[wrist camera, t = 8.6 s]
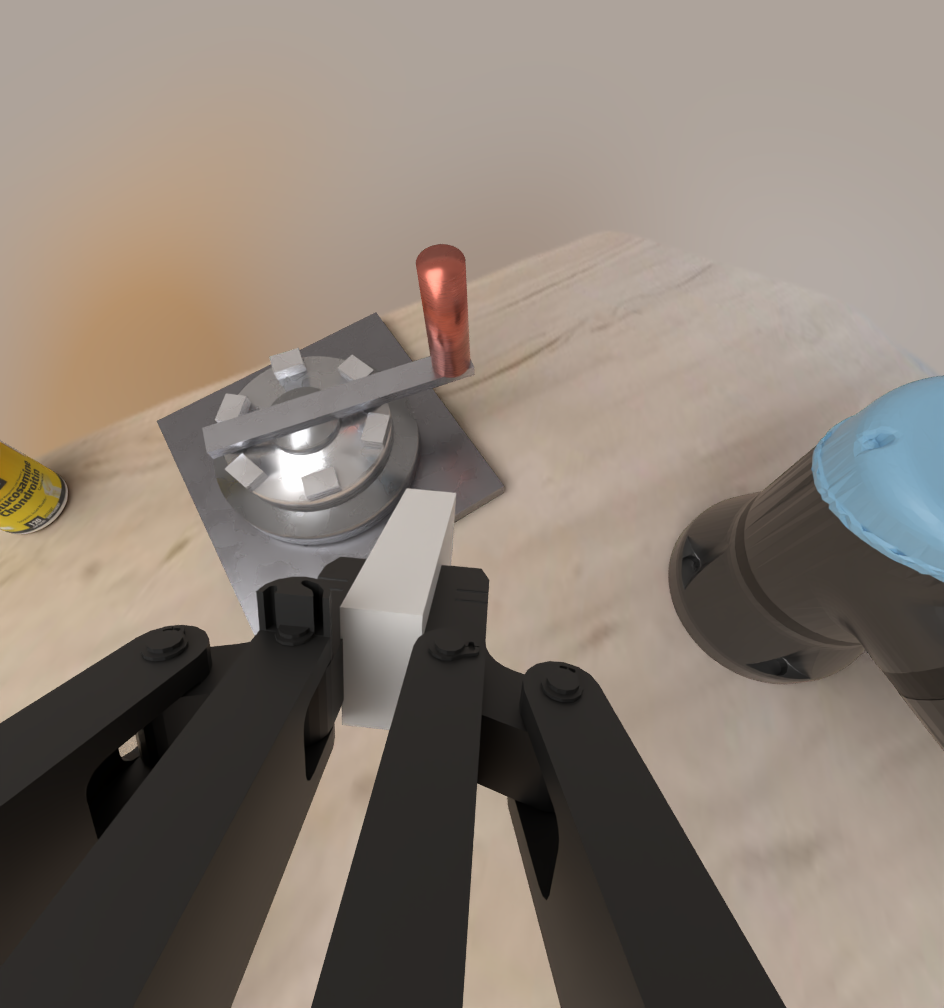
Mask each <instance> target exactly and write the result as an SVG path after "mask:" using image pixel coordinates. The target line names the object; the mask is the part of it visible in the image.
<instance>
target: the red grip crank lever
mask: <svg viewBox="0 0 944 1008" xmlns="http://www.w3.org/2000/svg"><path fill="white" fill-rule="evenodd" d="M416 267H417V274H418V280H419V287H420V293H421V299H422V306H423V312H424V318H425V324H426V331H427V337H428V343H429V350H430V356H429V357H426V358H423V359H420V360H416V361H413V362H410V363H407V364H404V365H401V366H397V367H394V368H391V369H388V370H385V371H381V372H378V373H375V372H374V370H373V369H372V368H370V367H369V366H368V365H366V364H365V363H363V362H362V361H361V360H359V359H358V358H356V357H355V356H354V355H351V356H350V357H349V358H348V359H346V360H342V359H338V358H333V357H324V356H311V357H303V356H302V354H301V352H300V350H299V348H297V349H293V350H290V351H287V352H283V353H280V354H277V355H274V356H270V361H271V365H272V368H270V369H268V370H266V371H264V372H263V373H261V374H260V375H258V376H257V377H256V378H254V379H253V380H252V381H251V382H250V383H249V384H247V385H246V386H245V387H244V388H243V390H242V391H241V392H240V393H239V394H238V395H235V394H227V393H226V394H225V397H224V399H223V401H222V404H221V406H220V409H219V411H218V413H217V416H216V418H215V420H216V421H217V423H216V424H213V425H210V426H206V427H203V428H202V430H203V435H204V440H205V446H206V451H207V453H208V454H209V455H210V456H211V457H212V458H213V459H214V458H217V457H220V456H225V459H226V461H227V464H228V466H227V467H226V468H225V470H226V471H227V472H228V473H229V474H230V475H232V476H233V477H234V478H235V479H236V480H237V481H238V482H239V483H241V484H242V485H243V486H244V487H245V488H246V489H247V490H249V491H250V492H251V493H253V494H254V495H255V496H256V497H258V498H259V499H260V500H262V501H263V502H265V503H267V504H269V505H271V506H274V507H276V508H279V509H282V510H287V511H292V512H315V511H322V510H326V509H330V508H333V507H336V506H339V505H341V504H344V503H346V502H348V501H349V500H351V499H353V498H355V497H356V496H358V495H359V494H361V493H362V492H363V491H365V490H366V489H367V488H368V487H369V486H370V485H371V484H372V483H373V482H374V481H375V480H376V479H377V478H378V476H379V475H380V474H381V472H382V471H383V469H384V468H385V466H386V464H387V462H388V460H389V457H390V455H391V452H392V448H393V443H394V423H393V419H392V415H391V412H390V409H389V406H388V402H391V401H395V400H398V399H401V398H404V397H407V396H410V395H413V394H416V393H419V392H422V391H426V390H429V389H432V388H435V387H438V386H441V385H444V384H447V383H450V382H454V381H457V380H460V379H463V378H466V377H469V376H472V375H474V366H473V363H472V361H471V359H470V345H469V325H468V305H467V285H466V265H465V257H464V255H463V253H462V252H461V251H460V250H459V249H457V248H456V247H454V246H450V245H445V244H438V245H433V246H430V247H428V248H426V249H424V250H423V251H422V252H421V253H420V254H419V255H418V257H417V260H416Z"/></svg>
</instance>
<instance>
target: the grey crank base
mask: <svg viewBox="0 0 944 1008" xmlns="http://www.w3.org/2000/svg"><path fill="white" fill-rule="evenodd" d="M300 352H301V354H302V356H303V357H311V356H324V357H333V358H338V359H342V360H346V359H348V358H349V357H350V356H351V355H354V356H355V357H356V358H358V359H359V360H361V361H362V362H363V363H365V364H366V365H368V366H369V367H370V368H372V369H373V370H374V372H375V373H378V372H381V371H385V370H388V369H391V368H394V367H397V366H401V365H404V364H407V363H410V362H412V360H411V359H410V358H409V356H408V355H407V354H406V352H405V351H404V350H403V348H402V347H401V346H400V344H399V343H398V342H397V340H396V339H395V337H394V336H393V335H392V333H391V332H390V331H389V329H388V328H387V327H386V325H385V324H384V323H383V321H382V320H381V318H380V317H379V316H378V314H377V313H374V314H372V315H370V316H368V317H366V318H364V319H362V320H360V321H357V322H355V323H354V324H351V325H349V326H347V327H345V328H343V329H341V330H339V331H337V332H335V333H333V334H331V335H329V336H327V337H325V338H323V339H321V340H319V341H317V342H315V343H313V344H311V345H309V346H307V347H305V348H303V349H301V350H300ZM270 368H272V365H269V366H267V367H265V368H263V369H261V370H259V371H257V372H255V373H253V374H251V375H249V376H247V377H245V378H243V379H241V380H239V381H237V382H235V383H233V384H231V385H228V386H226V387H224V388H222V389H220V390H218V391H216V392H214V393H212V394H210V395H208V396H206V397H204V398H202V399H200V400H198V401H196V402H194V403H192V404H190V405H188V406H186V407H184V408H182V409H180V410H178V411H176V412H174V413H172V414H170V415H168V416H166V417H164V418H162V419H160V420H158V421H157V423H158V425H159V427H160V429H161V431H162V434H163V436H164V438H165V440H166V442H167V445H168V447H169V449H170V451H171V453H172V456H173V458H174V460H175V462H176V464H177V466H178V469H179V471H180V473H181V475H182V477H183V480H184V482H185V484H186V486H187V488H188V491H189V493H190V495H191V497H192V499H193V502H194V504H195V506H196V508H197V510H198V512H199V515H200V517H201V519H202V521H203V523H204V526H205V528H206V530H207V532H208V534H209V537H210V539H211V541H212V543H213V545H214V548H215V550H216V552H217V554H218V556H219V558H220V561H221V563H222V565H223V567H224V569H225V572H226V574H227V576H228V578H229V580H230V583H231V585H232V587H233V589H234V591H235V594H236V596H237V598H238V600H239V602H240V605H241V607H242V609H243V611H244V613H245V615H246V618H247V620H248V622H249V624H250V626H251V629H252V631H253V633H254V635H256V634H257V633H258V631H259V618H258V607H257V595H256V591H257V590H258V589H259V588H261V587H262V586H263V585H265V584H267V583H269V582H272V581H274V580H277V579H282V578H287V577H310V578H315V579H317V578H318V575H319V574H320V573H321V571H322V570H323V568H324V567H325V566H326V565H327V564H329V563H330V562H332V561H334V560H336V559H337V558H339V557H351V558H361V559H367V558H368V556H369V554H370V553H371V551H372V549H373V547H374V545H375V544H376V542H377V540H378V538H379V537H380V535H381V533H382V531H383V529H384V528H385V526H386V524H387V522H388V521H389V519H390V517H391V515H392V513H393V512H394V510H395V508H396V506H397V505H398V503H399V501H400V499H401V497H402V496H403V494H404V492H405V490H406V489H407V488H409V489H419V490H430V491H441V492H451V493H456V504H455V518H454V522H456V521H458V520H459V519H461V518H463V517H464V516H466V515H468V514H469V513H471V512H472V511H474V510H476V509H477V508H479V507H481V506H482V505H484V504H486V503H487V502H489V501H491V500H492V499H494V498H496V497H497V496H499V495H501V494H502V493H504V485H503V484H502V482H501V481H500V480H499V478H498V477H497V476H496V474H495V473H494V472H493V470H492V469H491V468H490V466H489V465H488V463H487V462H486V461H485V459H484V458H483V457H482V455H481V454H480V453H479V451H478V450H477V449H476V447H475V446H474V445H473V443H472V442H471V440H470V439H469V438H468V436H467V435H466V434H465V432H464V431H463V430H462V428H461V427H460V426H459V424H458V423H457V421H456V420H455V419H454V417H453V416H452V415H451V413H450V412H449V411H448V409H447V408H446V407H445V405H444V404H443V402H442V401H441V400H440V398H439V397H438V396H437V394H436V393H435V392H434V390H433V389H429V390H426V391H422V392H419V393H416V394H413V395H410V396H407V397H404V398H401V399H398V400H395V401H391V402H388V406H389V409H390V412H391V415H392V419H393V423H394V443H393V448H392V452H391V455H390V457H389V460H388V462H387V464H386V466H385V468H384V469H383V471H382V472H381V474H380V475H379V476H378V478H377V479H376V480H375V481H374V482H373V483H372V484H371V485H370V486H369V487H368V488H367V489H366V490H365V491H363V492H362V493H361V494H359V495H358V496H356V497H355V498H353V499H351V500H349V501H348V502H346V503H344V504H341V505H339V506H336V507H333V508H330V509H326V510H322V511H315V512H292V511H287V510H282V509H279V508H276V507H274V506H271V505H269V504H267V503H265V502H263V501H262V500H260V499H259V498H258V497H256V496H255V495H254V494H253V493H251V492H250V491H249V490H247V489H246V488H245V487H244V486H243V485H242V484H241V483H239V482H238V481H237V480H236V479H235V478H234V477H233V476H232V475H230V474H229V473H228V472H227V471H226V470H225V468H226V467H227V466H228V464H227V461H226V459H225V456H220V457H217V458H214V459H213V458H212V457H211V456H210V455H209V454H208V453H207V451H206V446H205V440H204V435H203V430H202V428H203V427H206V426H210V425H213V424H216V423H217V421H216V420H215V418H216V416H217V413H218V411H219V409H220V406H221V404H222V401H223V399H224V397H225V394H226V393H227V394H235V395H238V394H239V393H240V392H241V391H242V390H243V388H244V387H245V386H246V385H247V384H249V383H250V382H251V381H252V380H253V379H254V378H256V377H257V376H258V375H260V374H261V373H263V372H264V371H266V370H268V369H270Z"/></svg>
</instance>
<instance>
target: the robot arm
mask: <svg viewBox="0 0 944 1008" xmlns="http://www.w3.org/2000/svg"><path fill="white" fill-rule="evenodd" d="M455 504H456V493H451V492H441V491H430V490H419V489H409V488H407V489H406V490H405V492H404V494H403V496H402V497H401V499H400V501H399V503H398V505H397V506H396V508H395V510H394V512H393V513H392V515H391V517H390V519H389V521H388V522H387V524H386V526H385V528H384V529H383V531H382V533H381V535H380V537H379V538H378V540H377V542H376V544H375V545H374V547H373V549H372V551H371V553H370V554H369V556H368V558H367V559H361V558H351V557H339V558H337V559H336V560H334V561H332V562H330V563H329V564H327V565H326V566H325V567H324V568H323V570H322V571H321V573H320V574H319V575H318V578H317V579H315V578H310V577H287V578H282V579H277V580H274V581H272V582H269V583H267V584H265V585H263V586H262V587H261V588H259V589H258V590H257V591H256V595H257V607H258V618H259V631H258V633H257V634H256V635H255V637H254V638H253V639H252V640H251V642H247V643H241V644H233V645H224V646H214V647H210V643H209V638H208V636H207V634H206V632H205V631H203V630H201V629H199V628H198V627H194V626H187V625H175V626H166V627H163V628H159V629H156V630H152V631H149V632H147V633H145V634H143V635H141V636H139V637H137V638H135V639H134V640H132V641H130V642H129V643H127V644H126V645H124V646H122V647H121V648H119V649H118V650H116V651H115V652H113V653H111V654H110V655H108V656H107V657H105V658H103V659H102V660H100V661H99V662H97V663H95V664H94V665H92V666H91V667H89V668H87V669H86V670H84V671H83V672H81V673H80V674H78V675H76V676H75V677H73V678H72V679H70V680H68V681H67V682H65V683H64V684H62V685H60V686H59V687H57V688H56V689H54V690H53V691H51V692H49V693H48V694H46V695H45V696H43V697H41V698H40V699H38V700H37V701H35V702H33V703H32V704H30V705H29V706H27V707H25V708H24V709H22V710H21V711H19V712H18V713H16V714H14V715H13V716H11V717H10V718H8V719H6V720H5V721H3V722H2V723H0V1008H231V1006H232V1003H233V1001H234V998H235V996H236V993H237V990H238V988H239V985H240V983H241V980H242V978H243V975H244V973H245V970H246V968H247V965H248V963H249V960H250V957H251V955H252V952H253V950H254V947H255V945H256V942H257V940H258V937H259V935H260V932H261V929H262V927H263V924H264V922H265V919H266V917H267V914H268V912H269V909H270V907H271V904H272V901H273V899H274V896H275V894H276V891H277V889H278V886H279V884H280V881H281V879H282V876H283V873H284V871H285V868H286V866H287V863H288V861H289V858H290V856H291V853H292V851H293V848H294V846H295V843H296V840H297V838H298V835H299V833H300V830H301V828H302V825H303V823H304V820H305V818H306V815H307V812H308V810H309V807H310V805H311V802H312V800H313V797H314V795H315V792H316V790H317V787H318V784H319V782H320V779H321V777H322V774H323V772H324V769H325V767H326V764H327V762H328V759H329V756H330V754H331V751H332V749H333V746H334V739H335V726H334V722H335V720H336V717H337V715H338V713H339V710H340V708H341V705H342V725H348V726H358V727H367V728H376V729H385V730H389V734H388V737H387V741H386V744H385V748H384V751H383V755H382V758H381V762H380V766H379V769H378V773H377V776H376V780H375V783H374V787H373V790H372V794H371V797H370V801H369V804H368V808H367V812H366V815H365V819H364V822H363V826H362V829H361V833H360V836H359V840H358V843H357V847H356V850H355V854H354V858H353V861H352V865H351V868H350V872H349V875H348V879H347V882H346V886H345V889H344V893H343V897H342V900H341V904H340V907H339V911H338V914H337V918H336V921H335V925H334V928H333V932H332V935H331V939H330V943H329V946H328V950H327V953H326V957H325V960H324V964H323V967H322V971H321V974H320V978H319V982H318V985H317V989H316V992H315V996H314V999H313V1003H312V1006H311V1008H462V1007H463V992H464V976H465V961H466V945H467V930H468V915H469V899H470V884H471V869H472V853H473V838H474V823H475V807H476V792H477V783H478V784H480V785H482V786H485V787H487V788H489V789H491V790H494V791H496V792H498V793H501V794H503V795H505V796H507V800H508V807H509V811H510V815H511V819H512V823H513V826H514V830H515V834H516V838H517V842H518V846H519V849H520V853H521V857H522V861H523V865H524V869H525V872H526V876H527V880H528V884H529V888H530V891H531V895H532V899H533V903H534V907H535V911H536V914H537V918H538V922H539V926H540V930H541V933H542V937H543V941H544V945H545V949H546V953H547V956H548V960H549V964H550V968H551V972H552V976H553V979H554V983H555V987H556V991H557V995H558V998H559V1002H560V1006H561V1008H786V1006H785V1005H784V1003H783V1001H782V999H781V998H780V996H779V994H778V992H777V991H776V989H775V987H774V986H773V984H772V982H771V980H770V979H769V977H768V975H767V974H766V972H765V970H764V968H763V967H762V965H761V963H760V961H759V960H758V958H757V956H756V955H755V953H754V951H753V949H752V948H751V946H750V944H749V942H748V941H747V939H746V937H745V936H744V934H743V932H742V930H741V929H740V927H739V925H738V924H737V922H736V920H735V918H734V917H733V915H732V913H731V911H730V910H729V908H728V906H727V905H726V903H725V901H724V899H723V898H722V896H721V894H720V893H719V891H718V889H717V887H716V886H715V884H714V882H713V880H712V879H711V877H710V875H709V874H708V872H707V870H706V868H705V867H704V865H703V863H702V861H701V860H700V858H699V856H698V855H697V853H696V851H695V849H694V848H693V846H692V844H691V843H690V841H689V839H688V837H687V836H686V834H685V832H684V830H683V829H682V827H681V825H680V824H679V822H678V820H677V818H676V817H675V815H674V813H673V812H672V810H671V808H670V806H669V805H668V803H667V801H666V799H665V798H664V796H663V794H662V793H661V791H660V789H659V787H658V786H657V784H656V782H655V780H654V779H653V777H652V775H651V774H650V772H649V770H648V768H647V767H646V765H645V763H644V762H643V760H642V758H641V756H640V755H639V753H638V751H637V749H636V748H635V746H634V744H633V743H632V741H631V739H630V737H629V736H628V734H627V732H626V731H625V729H624V727H623V725H622V724H621V722H620V720H619V718H618V717H617V715H616V713H615V712H614V710H613V708H612V706H611V705H610V703H609V701H608V699H607V698H606V696H605V694H604V693H603V691H602V689H601V687H600V686H599V684H598V683H597V682H596V681H595V680H594V678H593V677H592V676H591V675H590V674H588V673H587V672H585V671H584V670H582V669H580V668H579V667H576V666H573V665H570V664H567V663H564V662H552V661H549V662H544V663H539V664H536V665H534V666H533V667H531V668H530V669H528V670H527V672H526V674H522V673H519V672H516V671H513V670H511V669H509V668H506V667H504V666H503V665H501V664H500V663H498V662H497V661H495V660H494V659H493V657H492V656H491V655H490V654H489V652H488V650H487V648H486V643H485V639H486V623H487V607H488V592H489V579H488V577H487V576H486V575H485V573H484V572H483V570H482V569H478V568H468V567H458V566H451V561H452V547H453V533H454V518H455ZM669 587H670V593H671V597H672V601H673V604H674V607H675V609H676V612H677V614H678V616H679V618H680V620H681V622H682V624H683V626H684V627H685V629H686V630H687V632H688V633H689V635H690V636H691V637H692V638H693V640H694V641H695V642H696V643H697V644H698V645H699V646H700V647H701V648H702V650H704V651H705V652H706V653H707V654H708V655H709V656H710V657H712V658H713V659H714V660H715V661H717V662H718V663H720V664H721V665H723V666H724V667H726V668H728V669H729V670H731V671H733V672H735V673H737V674H740V675H742V676H744V677H747V678H750V679H753V680H757V681H761V682H766V683H773V684H792V683H801V682H809V681H814V680H819V679H822V678H825V677H828V676H830V675H833V674H835V673H837V672H839V671H841V670H842V669H844V668H846V667H847V666H848V665H850V664H851V663H852V662H853V661H854V660H855V659H856V658H858V657H859V656H860V655H861V654H862V653H863V652H864V651H865V650H866V651H867V652H868V654H869V655H870V656H871V658H872V659H873V660H874V662H875V663H876V664H877V665H878V667H879V668H880V669H881V670H882V671H883V672H884V674H885V675H886V676H887V678H888V679H889V680H890V681H891V683H892V684H893V685H894V687H895V688H896V689H897V691H898V692H899V694H900V695H901V697H902V698H903V699H904V700H905V702H906V703H907V704H908V706H909V707H910V708H911V709H912V711H913V712H914V713H915V715H916V716H917V717H918V718H919V720H920V721H921V722H922V724H923V725H924V726H925V727H926V729H927V730H928V731H929V732H930V734H931V735H932V736H933V738H934V739H935V740H936V741H937V743H938V744H939V745H940V747H941V748H942V749H943V750H944V376H937V377H931V378H925V379H921V380H918V381H914V382H911V383H908V384H906V385H903V386H900V387H898V388H896V389H894V390H892V391H890V392H888V393H886V394H885V395H883V396H881V397H880V398H878V399H877V400H875V401H874V402H873V403H871V404H870V405H868V406H867V407H866V408H864V409H863V410H861V411H860V412H859V413H857V414H856V415H853V416H851V417H849V418H847V419H845V420H843V421H841V422H840V423H838V424H837V425H835V426H834V427H832V428H831V429H830V430H829V431H828V432H827V434H826V436H825V437H824V438H822V439H821V440H820V441H819V443H818V445H816V446H815V447H814V448H813V449H812V450H810V451H809V452H808V453H807V454H806V455H805V456H803V457H802V458H801V459H800V460H799V461H797V462H796V463H795V464H794V465H793V466H791V467H790V468H789V469H788V470H787V471H786V472H784V473H783V474H782V475H781V476H780V477H778V478H777V479H776V480H775V481H774V482H773V483H771V484H770V485H769V486H768V487H767V488H765V489H764V490H763V491H762V492H757V493H752V494H747V495H742V496H738V497H733V498H730V499H727V500H724V501H722V502H719V503H717V504H715V505H713V506H711V507H710V508H708V509H707V510H705V511H704V512H703V513H701V514H700V515H699V516H698V517H697V518H696V519H695V520H694V521H693V522H692V523H690V524H689V526H688V527H687V528H686V529H685V530H684V531H683V532H682V534H681V535H680V537H679V538H678V540H677V542H676V544H675V546H674V549H673V552H672V555H671V559H670V564H669ZM134 735H136V740H137V745H138V746H137V747H136V748H135V749H134V750H133V751H131V752H130V753H128V754H126V755H125V756H123V757H121V756H120V754H119V749H118V748H119V747H120V746H122V745H123V744H124V743H125V742H126V741H128V740H129V739H130V738H131V737H133V736H134Z"/></svg>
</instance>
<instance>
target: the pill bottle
mask: <svg viewBox="0 0 944 1008" xmlns="http://www.w3.org/2000/svg"><path fill="white" fill-rule="evenodd" d="M67 497H68V489H67V485H66V483H65V481H64V480H63V479H62V477H61V476H59V475H58V474H57V473H55V472H54V471H52V470H50V469H48V468H47V467H45V466H43V465H42V464H40V463H38V462H37V461H35V460H33V459H31V458H30V457H28V456H26V455H25V454H23V453H21V452H19V451H17V450H16V449H14V448H12V447H11V446H9V445H7V444H6V443H4V442H2V441H0V529H1V530H3V531H6V532H9V533H13V534H27V533H32V532H35V531H38V530H40V529H42V528H44V527H46V526H47V525H49V524H50V523H52V522H53V521H54V520H55V519H56V518H57V517H58V516H59V514H60V513H61V512H62V510H63V509H64V507H65V504H66V502H67Z"/></svg>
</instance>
